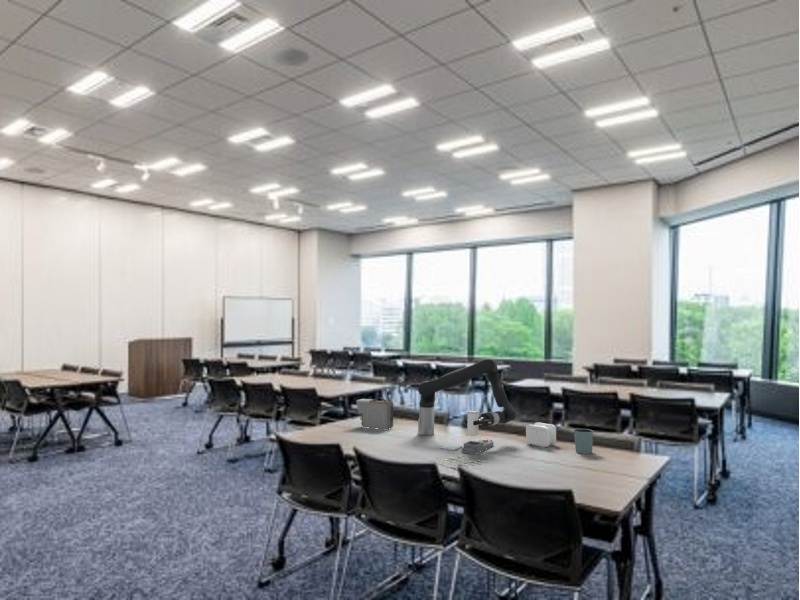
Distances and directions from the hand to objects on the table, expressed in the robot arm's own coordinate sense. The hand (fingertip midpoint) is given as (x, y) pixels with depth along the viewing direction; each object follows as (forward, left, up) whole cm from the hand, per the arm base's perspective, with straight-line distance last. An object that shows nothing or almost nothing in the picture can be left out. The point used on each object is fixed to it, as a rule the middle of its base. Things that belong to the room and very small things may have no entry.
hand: (469, 422), depth 298 cm
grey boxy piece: (-82, +25, -16) cm, 87 cm away
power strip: (+1, +12, -16) cm, 20 cm away
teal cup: (+52, +35, -16) cm, 64 cm away
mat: (-13, +3, -16) cm, 21 cm away
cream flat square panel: (+6, -18, -17) cm, 26 cm away
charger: (0, +3, -7) cm, 8 cm away
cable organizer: (+27, +39, -16) cm, 50 cm away
